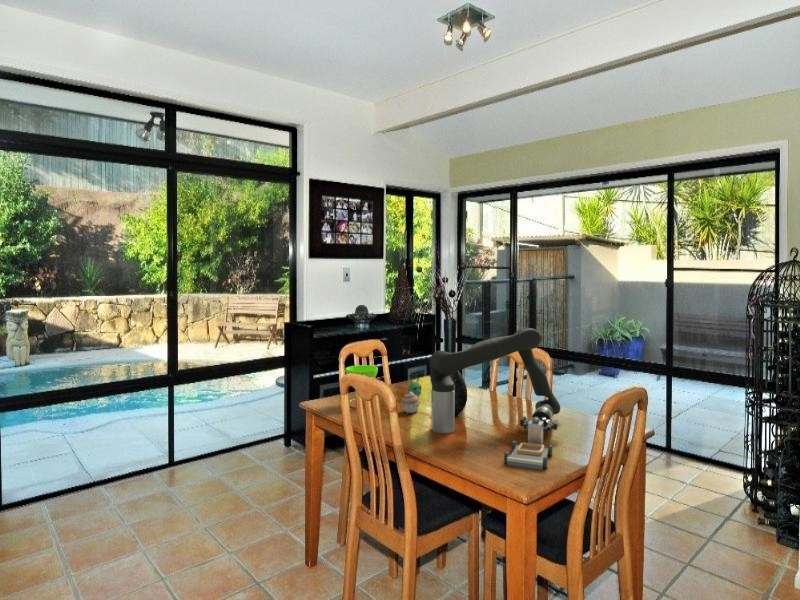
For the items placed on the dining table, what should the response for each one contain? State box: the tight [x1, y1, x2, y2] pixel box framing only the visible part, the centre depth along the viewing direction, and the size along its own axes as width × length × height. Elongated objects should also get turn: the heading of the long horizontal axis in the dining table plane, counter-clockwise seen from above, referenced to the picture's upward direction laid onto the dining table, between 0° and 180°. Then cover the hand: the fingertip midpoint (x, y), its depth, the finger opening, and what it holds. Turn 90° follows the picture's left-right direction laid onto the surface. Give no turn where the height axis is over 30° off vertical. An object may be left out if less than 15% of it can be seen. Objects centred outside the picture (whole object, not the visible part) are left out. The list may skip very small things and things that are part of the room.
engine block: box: [527, 417, 544, 445], centre depth 211 cm, size 5×5×10 cm
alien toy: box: [407, 378, 422, 398], centre depth 285 cm, size 7×8×10 cm
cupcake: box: [400, 391, 421, 414], centre depth 259 cm, size 9×9×10 cm
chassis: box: [503, 440, 554, 471], centre depth 197 cm, size 18×14×4 cm
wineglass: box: [345, 364, 379, 402], centre depth 274 cm, size 16×16×18 cm
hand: (536, 428), depth 213 cm, fingers open, 8 cm apart
